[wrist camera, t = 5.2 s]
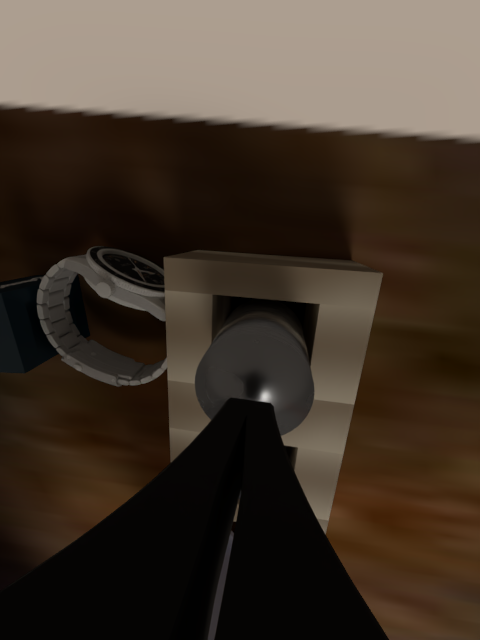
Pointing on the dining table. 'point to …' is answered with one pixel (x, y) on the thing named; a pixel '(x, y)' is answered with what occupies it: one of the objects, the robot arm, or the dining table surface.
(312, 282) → the press block
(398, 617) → the dining table surface
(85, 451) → the dining table surface
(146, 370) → the watch
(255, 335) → the steel peg
